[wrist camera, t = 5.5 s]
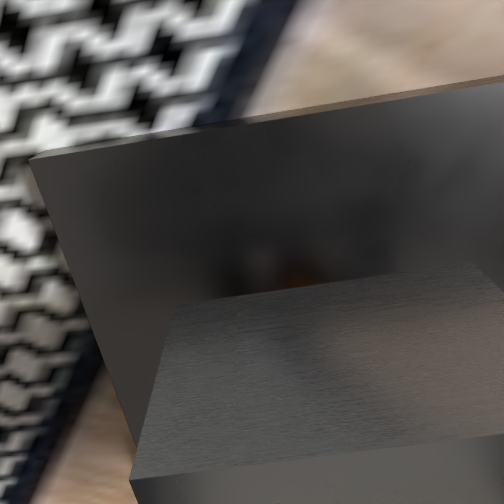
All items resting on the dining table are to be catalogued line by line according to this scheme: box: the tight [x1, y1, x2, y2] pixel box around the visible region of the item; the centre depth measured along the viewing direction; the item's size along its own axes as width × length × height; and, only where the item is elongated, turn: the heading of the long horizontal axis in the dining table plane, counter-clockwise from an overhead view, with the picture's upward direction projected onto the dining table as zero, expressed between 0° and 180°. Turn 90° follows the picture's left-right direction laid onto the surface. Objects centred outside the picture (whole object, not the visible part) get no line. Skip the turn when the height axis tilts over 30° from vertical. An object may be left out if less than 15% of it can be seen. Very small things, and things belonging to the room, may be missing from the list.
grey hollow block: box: [129, 262, 504, 504], centre depth 8 cm, size 6×6×4 cm
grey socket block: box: [28, 75, 504, 447], centre depth 10 cm, size 12×12×6 cm
